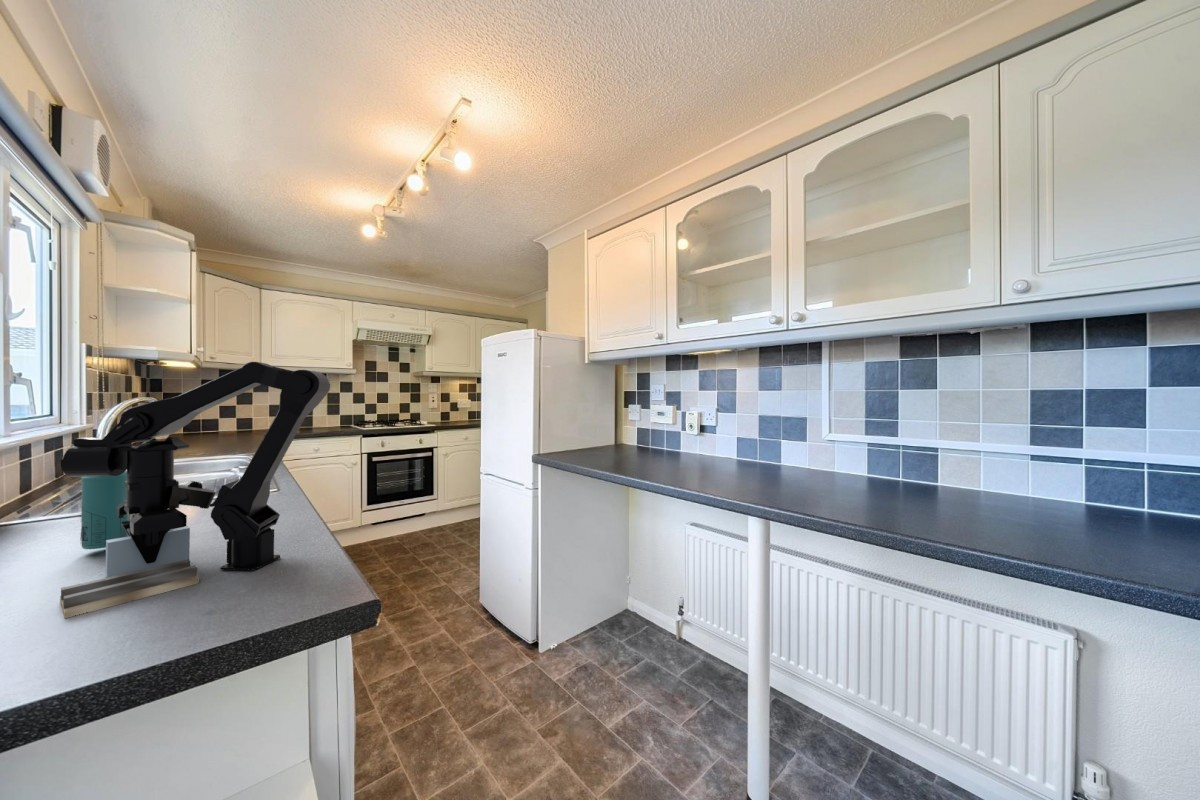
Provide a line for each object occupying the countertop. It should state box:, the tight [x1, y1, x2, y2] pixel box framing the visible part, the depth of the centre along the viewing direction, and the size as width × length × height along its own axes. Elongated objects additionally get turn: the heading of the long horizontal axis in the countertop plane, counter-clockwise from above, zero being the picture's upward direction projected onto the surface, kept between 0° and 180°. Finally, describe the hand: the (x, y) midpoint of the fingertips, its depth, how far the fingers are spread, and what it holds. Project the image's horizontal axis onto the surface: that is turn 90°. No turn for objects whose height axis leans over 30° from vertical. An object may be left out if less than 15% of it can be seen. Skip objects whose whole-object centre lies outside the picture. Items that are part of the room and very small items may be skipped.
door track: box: [59, 558, 200, 619], centre depth 67 cm, size 14×8×2 cm, turn 146°
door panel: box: [104, 525, 191, 578], centre depth 74 cm, size 10×2×7 cm, turn 146°
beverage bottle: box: [79, 470, 129, 550], centre depth 83 cm, size 6×7×20 cm
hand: (149, 561), depth 74 cm, fingers closed on door panel, 2 cm apart
